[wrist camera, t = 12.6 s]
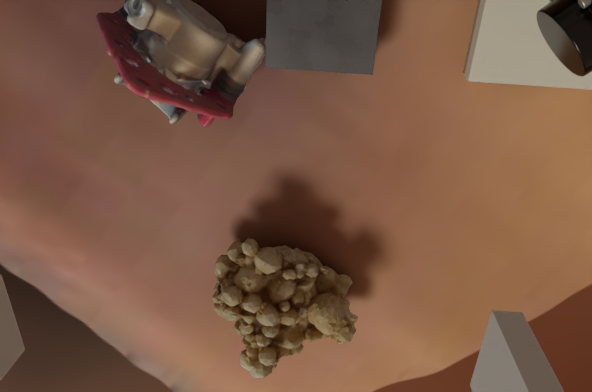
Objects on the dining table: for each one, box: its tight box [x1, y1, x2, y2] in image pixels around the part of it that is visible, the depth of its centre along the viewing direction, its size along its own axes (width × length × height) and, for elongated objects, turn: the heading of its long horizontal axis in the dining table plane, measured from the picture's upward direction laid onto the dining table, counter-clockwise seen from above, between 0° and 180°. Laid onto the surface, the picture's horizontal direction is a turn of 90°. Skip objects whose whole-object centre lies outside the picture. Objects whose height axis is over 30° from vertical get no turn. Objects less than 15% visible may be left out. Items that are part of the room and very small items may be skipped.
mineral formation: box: [212, 238, 358, 378], centre depth 44 cm, size 8×13×15 cm
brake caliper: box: [96, 0, 266, 127], centre depth 34 cm, size 11×11×12 cm
